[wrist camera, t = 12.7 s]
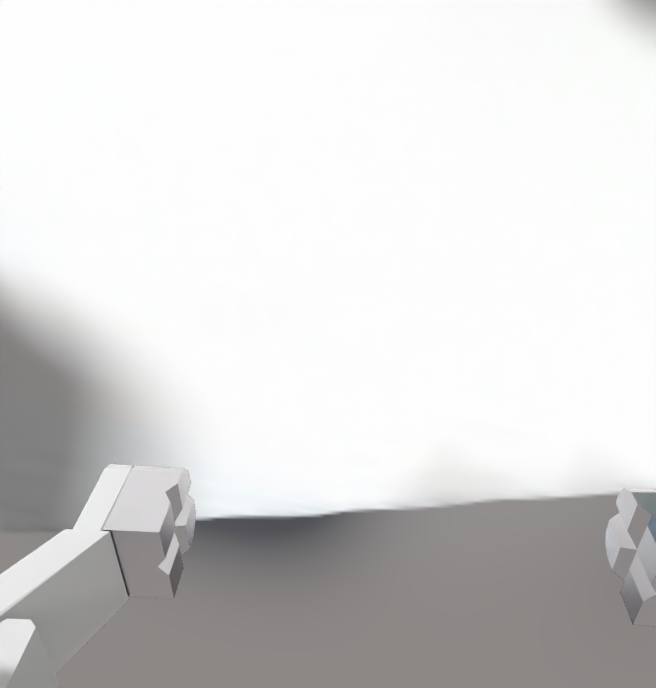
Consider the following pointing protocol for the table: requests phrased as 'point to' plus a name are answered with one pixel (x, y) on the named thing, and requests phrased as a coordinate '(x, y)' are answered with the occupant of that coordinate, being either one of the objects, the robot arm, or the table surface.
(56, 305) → the table surface
